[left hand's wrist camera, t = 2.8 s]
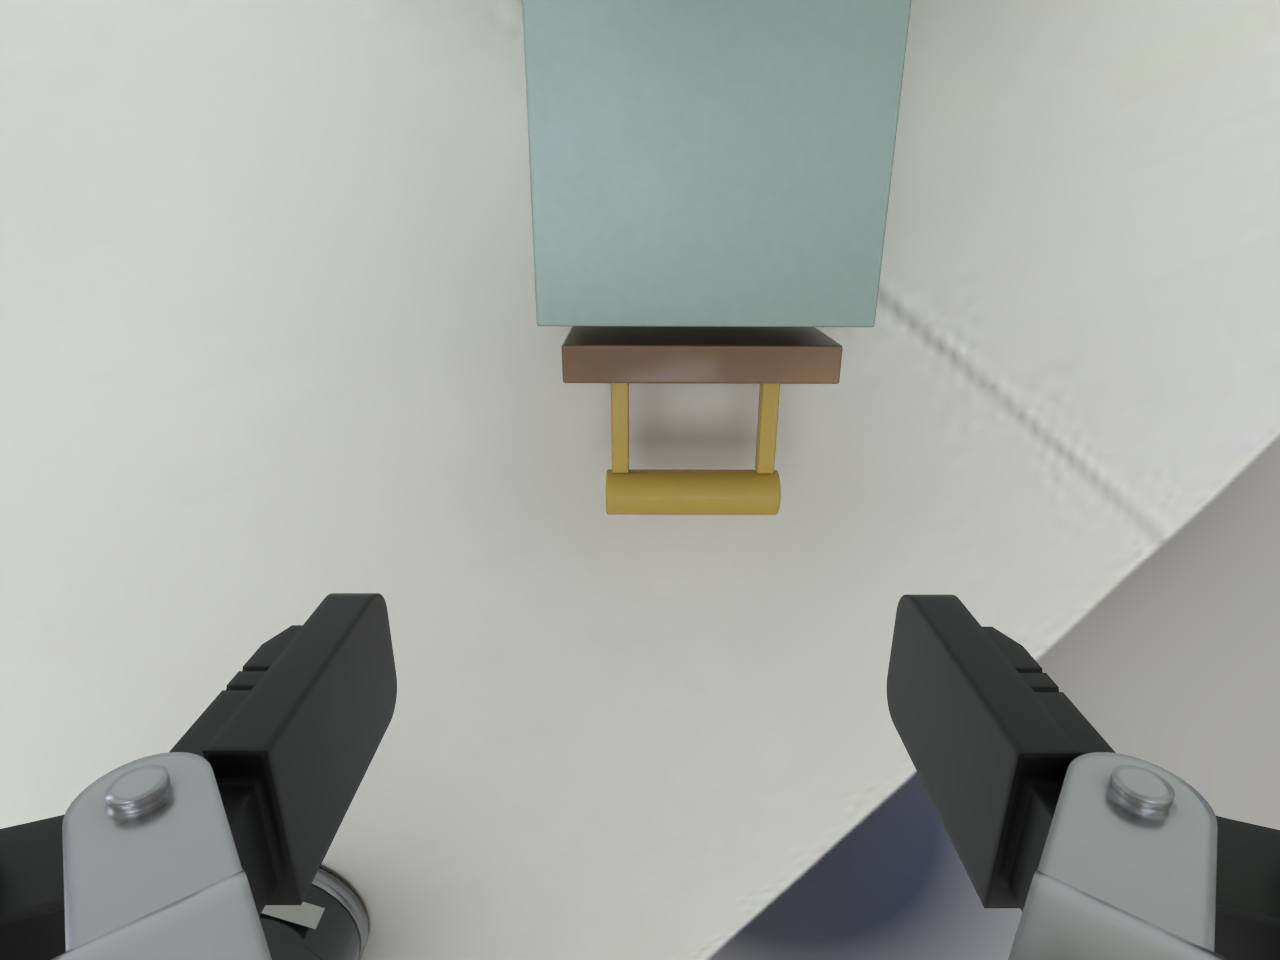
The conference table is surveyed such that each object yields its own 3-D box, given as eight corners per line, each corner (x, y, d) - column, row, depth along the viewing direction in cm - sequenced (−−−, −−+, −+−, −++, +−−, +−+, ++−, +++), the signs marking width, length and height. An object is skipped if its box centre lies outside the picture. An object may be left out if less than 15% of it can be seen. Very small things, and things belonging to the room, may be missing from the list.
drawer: (788, 477, 31) (823, 541, 25) (581, 477, 31) (568, 541, 25) (837, -145, 23) (903, -264, 17) (565, -147, 23) (540, -266, 17)
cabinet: (813, 296, 29) (875, 327, 21) (563, 295, 29) (536, 326, 21) (858, -252, 23) (967, -478, 16) (545, -254, 23) (499, -481, 15)
